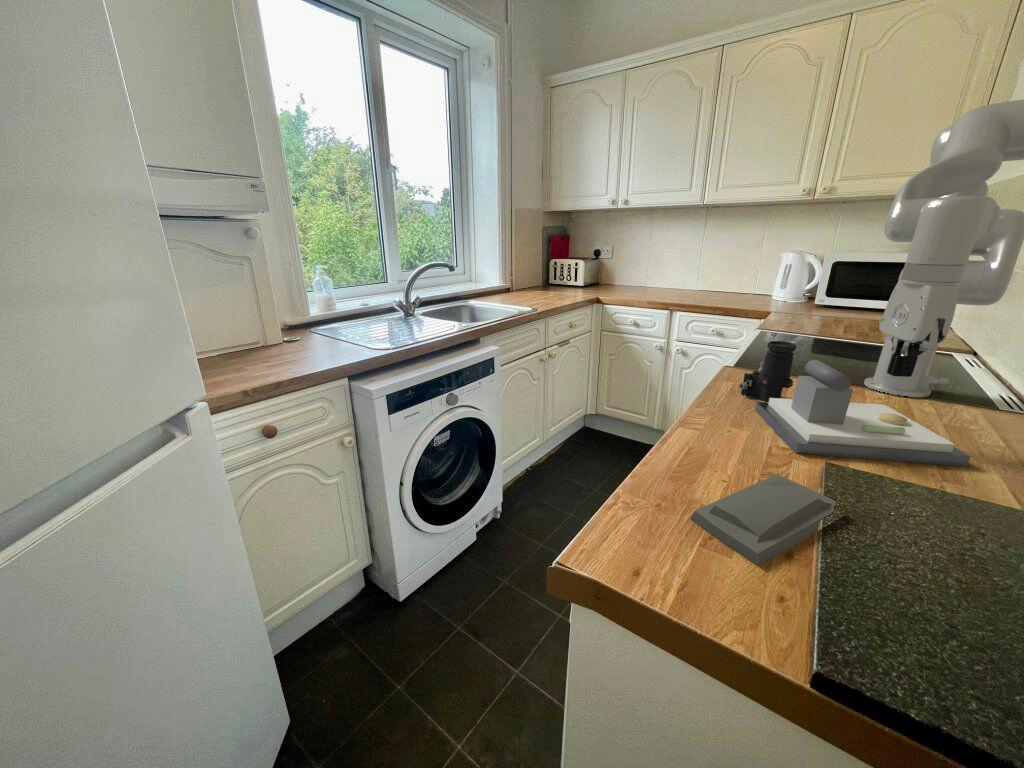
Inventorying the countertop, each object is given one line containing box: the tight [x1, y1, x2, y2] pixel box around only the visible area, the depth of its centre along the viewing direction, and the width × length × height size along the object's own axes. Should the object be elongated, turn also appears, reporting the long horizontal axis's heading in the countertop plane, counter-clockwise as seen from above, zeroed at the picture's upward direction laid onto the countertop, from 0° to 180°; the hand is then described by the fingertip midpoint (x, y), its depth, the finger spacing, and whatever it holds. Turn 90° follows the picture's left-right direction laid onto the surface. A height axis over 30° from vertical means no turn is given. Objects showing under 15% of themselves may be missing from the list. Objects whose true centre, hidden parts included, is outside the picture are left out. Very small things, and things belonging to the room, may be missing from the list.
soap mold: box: [689, 473, 842, 567], centre depth 56 cm, size 10×20×4 cm, turn 118°
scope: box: [738, 340, 797, 402], centre depth 96 cm, size 8×14×10 cm
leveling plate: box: [768, 359, 956, 452], centre depth 78 cm, size 22×18×12 cm
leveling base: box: [754, 401, 971, 468], centre depth 80 cm, size 26×20×2 cm
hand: (898, 374), depth 77 cm, fingers closed
